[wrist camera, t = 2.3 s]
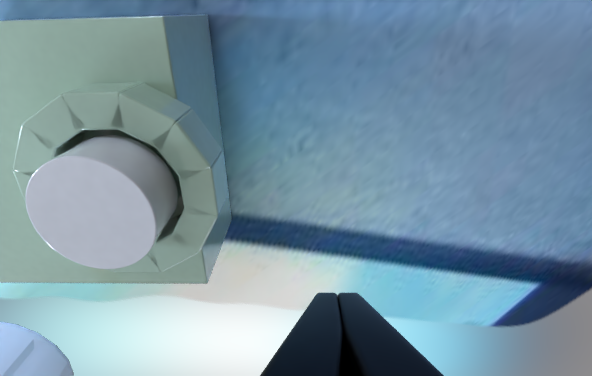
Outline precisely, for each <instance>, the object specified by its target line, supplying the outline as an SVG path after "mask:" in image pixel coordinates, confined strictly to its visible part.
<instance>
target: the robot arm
mask: <svg viewBox="0 0 592 376" xmlns="http://www.w3.org/2000/svg"><path fill="white" fill-rule="evenodd" d="M260 376H444V375H442V374H441V373H440V372H439V371H438V370H437V369H436V368H435V367H434V366H433V365H432V364H431V363H430V362H429V361H428V360H427V359H426V358H425V357H424V356H423V355H422V354H420V352H418V351H417V350H416V349H415V348H414V347H413V346H412V345H411V344H410V343H409V342H408V341H407V340H406V339H405V338H404V337H403V336H402V335H401V334H400V333H399V332H397V330H396V329H395V328H394V327H392V326H391V325H390V324H389V323H388V322H387V321H386V320H385V319H384V318H383V317H382V316H381V315H380V314H379V313H378V312H377V311H376V310H375V309H374V308H373V307H372V306H371V305H370V304H369V303H368V302H366V301H365V300H364V299H363V298H362V297H361V296H360V295H359V294H357V293H339V294H338V296H337V294H335V293H318V294H317V295H316V296H315V297H314V299H313V300H312V302H311V303H310V304H309V306H308V307H307V309H306V310H305V312H304V313H303V315H302V316H301V317H300V319H299V320H298V322H297V323H296V325H295V326H294V328H293V329H292V330H291V332H290V333H289V335H288V336H287V338H286V339H285V341H284V342H283V343H282V345H281V346H280V348H279V349H278V351H277V352H276V354H275V355H274V356H273V358H272V359H271V361H270V362H269V364H268V365H267V367H266V368H265V370H264V371H263V372H262V374H261V375H260Z"/></svg>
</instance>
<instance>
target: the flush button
mask: <svg viewBox="0 0 592 376" xmlns="http://www.w3.org/2000/svg"><path fill="white" fill-rule="evenodd" d="M25 198H26V208H27V212H28V215H29V218H30V220H31V222H32V224H33V226H34V228H35V229H36V231H37V232H38V234H39V235H40V236H41V237H42V239H43V240H44V241H45V242H46V243H47V244H48V245H49V246H50V247H52V248H53V249H54V250H55V251H57V252H58V253H60V254H61V255H63V256H64V257H66V258H68V259H70V260H72V261H74V262H76V263H79V264H81V265H84V266H88V267H92V268H98V269H117V268H123V267H126V266H129V265H132V264H134V263H136V262H138V261H139V260H141V259H142V258H143V257H144V256H145V255H147V253H148V252H149V251H150V250H151V248H152V247H153V245H154V244H155V242H156V241H157V239H158V238H159V236H160V235H161V233H162V232H163V230H164V229H165V227H166V226H167V224H168V223H169V221H170V220H171V218H172V217H173V215H174V213H175V210H176V207H177V202H178V193H177V186H176V182H175V180H174V177H173V175H172V173H171V171H170V169H169V168H168V166H167V165H166V164H165V162H164V161H163V160H162V159H161V158H160V157H159V156H158V155H157V154H156V153H155V152H154V151H153V150H151V149H150V148H148V147H147V146H145V145H144V144H142V143H140V142H138V141H135V140H133V139H130V138H127V137H124V136H118V135H99V136H95V137H91V138H89V139H86V140H84V141H83V142H81V143H79V144H77V145H76V146H74V147H72V148H71V149H69V150H67V151H65V152H64V153H62V154H60V155H58V156H57V157H55V158H53V159H51V160H50V161H48V162H46V163H45V164H43V165H42V166H40V167H39V168H38V169H37V170H36V171H35V172H34V174H33V175H32V177H31V178H30V180H29V182H28V185H27V188H26V195H25Z"/></svg>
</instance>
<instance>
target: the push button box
mask: <svg viewBox="0 0 592 376" xmlns="http://www.w3.org/2000/svg"><path fill="white" fill-rule="evenodd" d="M99 135H118V136H124V137H127V138H130V139H133V140H135V141H138V142H140V143H142V144H144V145H145V146H147V147H148V148H150V149H151V150H153V151H154V152H155V153H156V154H157V155H158V156H159V157H160V158H161V159H162V160H163V161H164V162H165V164H166V165H167V166H168V168H169V169H170V171H171V173H172V175H173V177H174V180H175V182H176V186H177V193H178V202H177V207H176V210H175V213H174V215H173V217H172V218H171V220H170V221H169V223H168V224H167V226H166V227H165V229H164V230H163V232H162V233H161V235H160V236H159V238H158V239H157V241H156V242H155V244H154V245H153V247H152V248H151V250H150V251H149V252H148V253H147V255H145V256H144V257H143V258H142V259H141V260H139V261H138V262H136V263H134V264H132V265H129V266H126V267H123V268H117V269H98V268H92V267H88V266H84V265H81V264H79V263H76V262H74V261H72V260H70V259H68V258H66V257H64V256H63V255H61V254H60V253H58V252H57V251H55V250H54V249H53V248H52V247H50V246H49V245H48V244H47V243H46V242H45V241H44V240H43V239H42V237H41V236H40V235H39V234H38V232H37V231H36V229H35V228H34V226H33V224H32V222H31V220H30V218H29V215H28V212H27V208H26V198H25V195H26V188H27V185H28V182H29V180H30V178H31V177H32V175H33V174H34V172H35V171H36V170H37V169H38V168H39V167H40V166H42V165H43V164H45V163H46V162H48V161H50V160H51V159H53V158H55V157H57V156H58V155H60V154H62V153H64V152H65V151H67V150H69V149H71V148H72V147H74V146H76V145H77V144H79V143H81V142H83V141H84V140H86V139H89V138H91V137H95V136H99ZM231 220H232V216H231V207H230V199H229V190H228V182H227V173H226V165H225V157H224V148H223V140H222V131H221V123H220V114H219V106H218V97H217V89H216V81H215V72H214V64H213V55H212V47H211V38H210V30H209V21H208V15H207V14H187V15H153V16H119V17H86V18H52V19H18V20H0V283H189V284H206V283H208V281H209V278H210V275H211V273H212V270H213V267H214V265H215V262H216V260H217V257H218V254H219V252H220V249H221V247H222V244H223V241H224V239H225V236H226V233H227V231H228V228H229V226H230V223H231Z"/></svg>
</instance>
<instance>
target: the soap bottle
mask: <svg viewBox="0 0 592 376" xmlns="http://www.w3.org/2000/svg"><path fill="white" fill-rule="evenodd" d="M73 375H74V374H73V371H72V368H71V365H70V362H69V360H68V359H67V357H66V356H65V355H64V354H63V353H62V352H61V350H60V349H59V348H58V347H57V346H56V345H55V344H54V343H52V342H51V341H49V340H48V339H46V338H45V337H43V336H42V335H40V334H39V333H37V332H35V331H32V330H30V329H27V328H25V327H22V326H20V325H17V324H12V323H6V322H0V376H73Z"/></svg>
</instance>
